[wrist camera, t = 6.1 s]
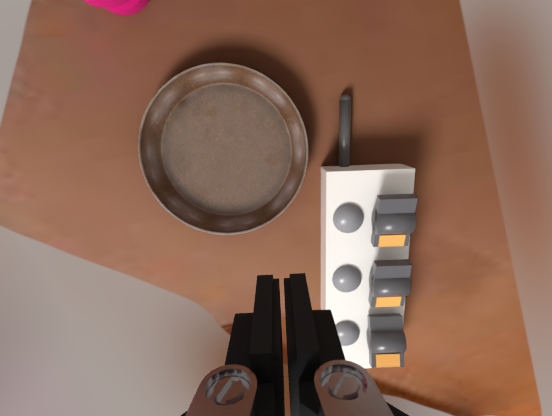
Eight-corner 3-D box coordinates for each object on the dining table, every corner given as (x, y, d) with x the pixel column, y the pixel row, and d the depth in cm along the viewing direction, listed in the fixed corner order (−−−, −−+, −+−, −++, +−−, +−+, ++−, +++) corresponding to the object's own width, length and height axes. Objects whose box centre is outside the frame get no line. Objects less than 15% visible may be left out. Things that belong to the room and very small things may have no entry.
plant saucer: (128, 82, 35) (115, 79, 32) (293, 53, 34) (295, 47, 31) (169, 236, 39) (161, 246, 36) (315, 213, 39) (318, 221, 36)
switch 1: (374, 191, 33) (382, 203, 30) (410, 189, 33) (421, 202, 30) (368, 236, 35) (375, 251, 33) (401, 235, 35) (410, 250, 33)
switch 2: (365, 312, 38) (372, 319, 35) (396, 310, 38) (405, 318, 35) (367, 360, 38) (374, 371, 35) (398, 359, 38) (407, 370, 35)
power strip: (320, 95, 35) (327, 92, 31) (404, 92, 35) (422, 88, 31) (320, 347, 43) (325, 370, 39) (388, 344, 43) (400, 368, 39)
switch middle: (371, 255, 34) (378, 271, 32) (405, 254, 34) (415, 270, 32) (366, 295, 37) (372, 312, 35) (397, 294, 37) (406, 311, 35)
